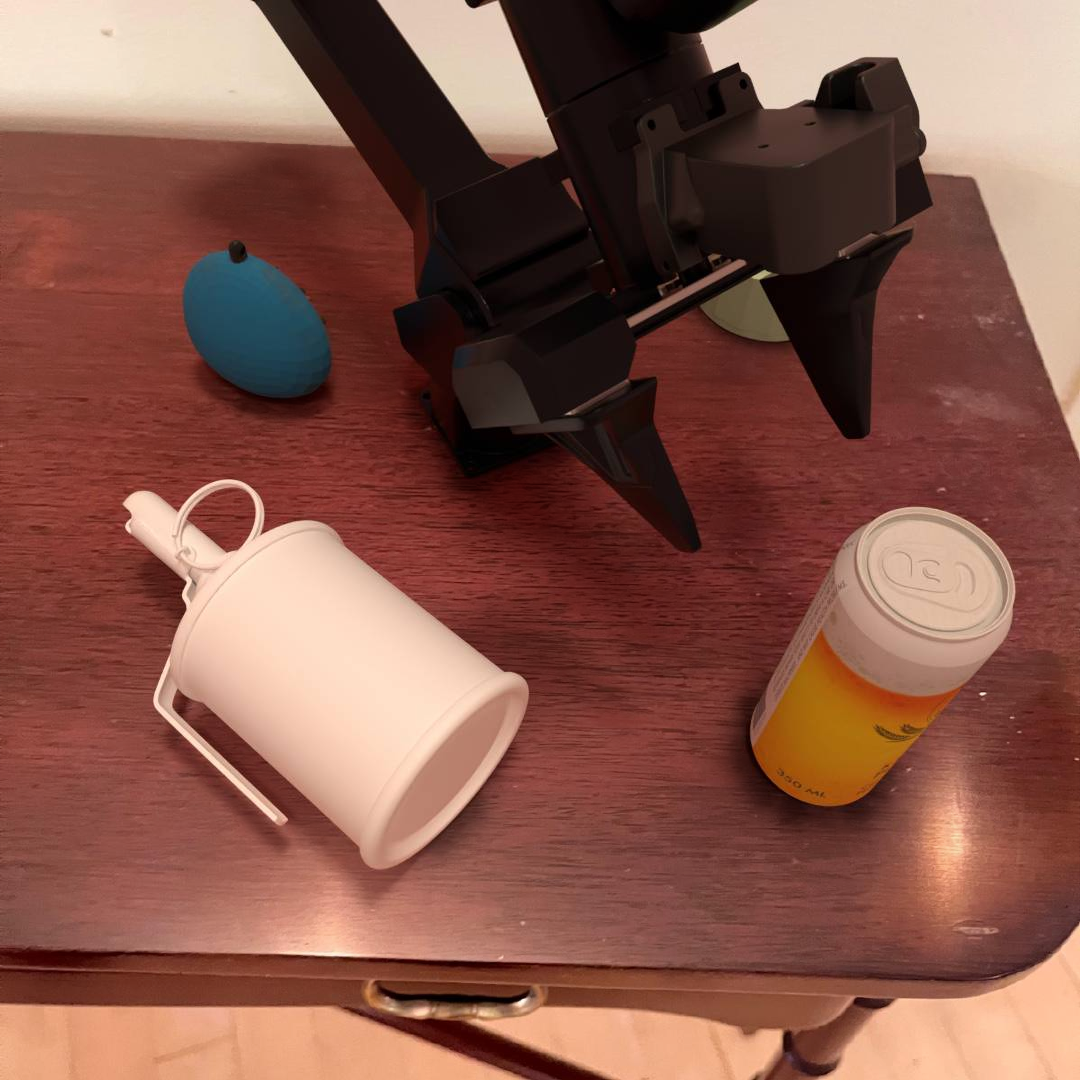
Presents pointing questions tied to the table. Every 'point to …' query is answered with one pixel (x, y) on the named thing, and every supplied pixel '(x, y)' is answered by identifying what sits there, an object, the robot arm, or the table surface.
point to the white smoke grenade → (329, 677)
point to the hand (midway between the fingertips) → (778, 491)
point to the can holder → (746, 311)
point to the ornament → (255, 325)
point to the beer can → (881, 652)
